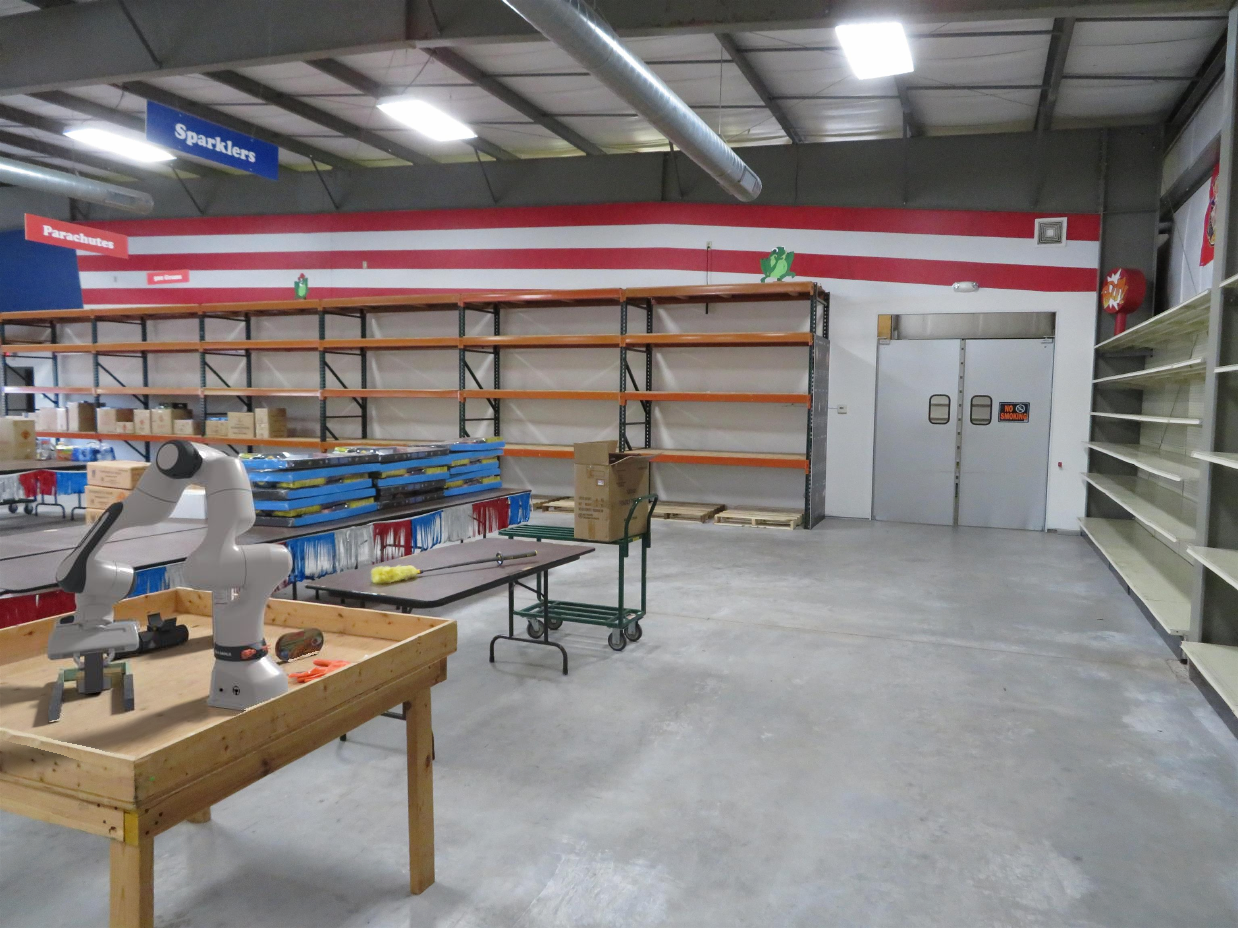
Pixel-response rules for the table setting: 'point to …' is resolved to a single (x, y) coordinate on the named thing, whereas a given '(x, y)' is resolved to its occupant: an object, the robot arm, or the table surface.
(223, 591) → the cracker box
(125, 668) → the open frame
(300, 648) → the tin
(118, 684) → the brown wooden cube
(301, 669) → the table surface
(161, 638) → the laser sight
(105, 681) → the dark grey block
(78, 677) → the wooden block
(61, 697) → the slot jig
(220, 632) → the robot arm
